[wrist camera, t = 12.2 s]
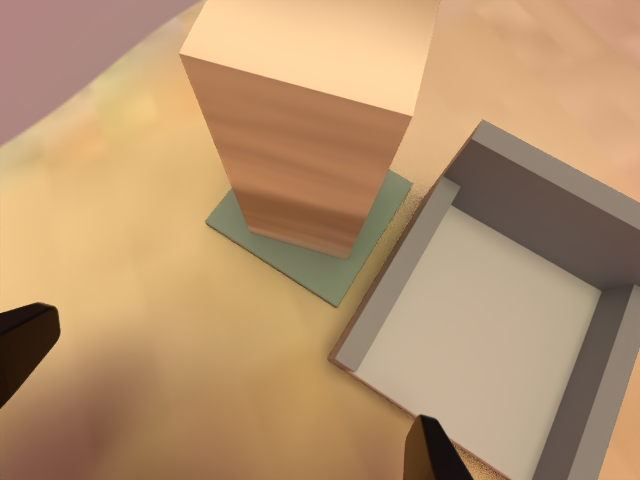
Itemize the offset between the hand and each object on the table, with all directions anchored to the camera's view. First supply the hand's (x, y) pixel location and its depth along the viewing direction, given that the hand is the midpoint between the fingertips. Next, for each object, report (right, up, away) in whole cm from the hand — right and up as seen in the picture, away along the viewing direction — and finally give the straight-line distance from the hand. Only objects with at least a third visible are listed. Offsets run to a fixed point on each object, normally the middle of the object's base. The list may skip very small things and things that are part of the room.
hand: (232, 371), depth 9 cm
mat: (+2, +5, +9) cm, 10 cm away
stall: (+8, -1, +7) cm, 11 cm away
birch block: (+2, +5, +8) cm, 10 cm away
